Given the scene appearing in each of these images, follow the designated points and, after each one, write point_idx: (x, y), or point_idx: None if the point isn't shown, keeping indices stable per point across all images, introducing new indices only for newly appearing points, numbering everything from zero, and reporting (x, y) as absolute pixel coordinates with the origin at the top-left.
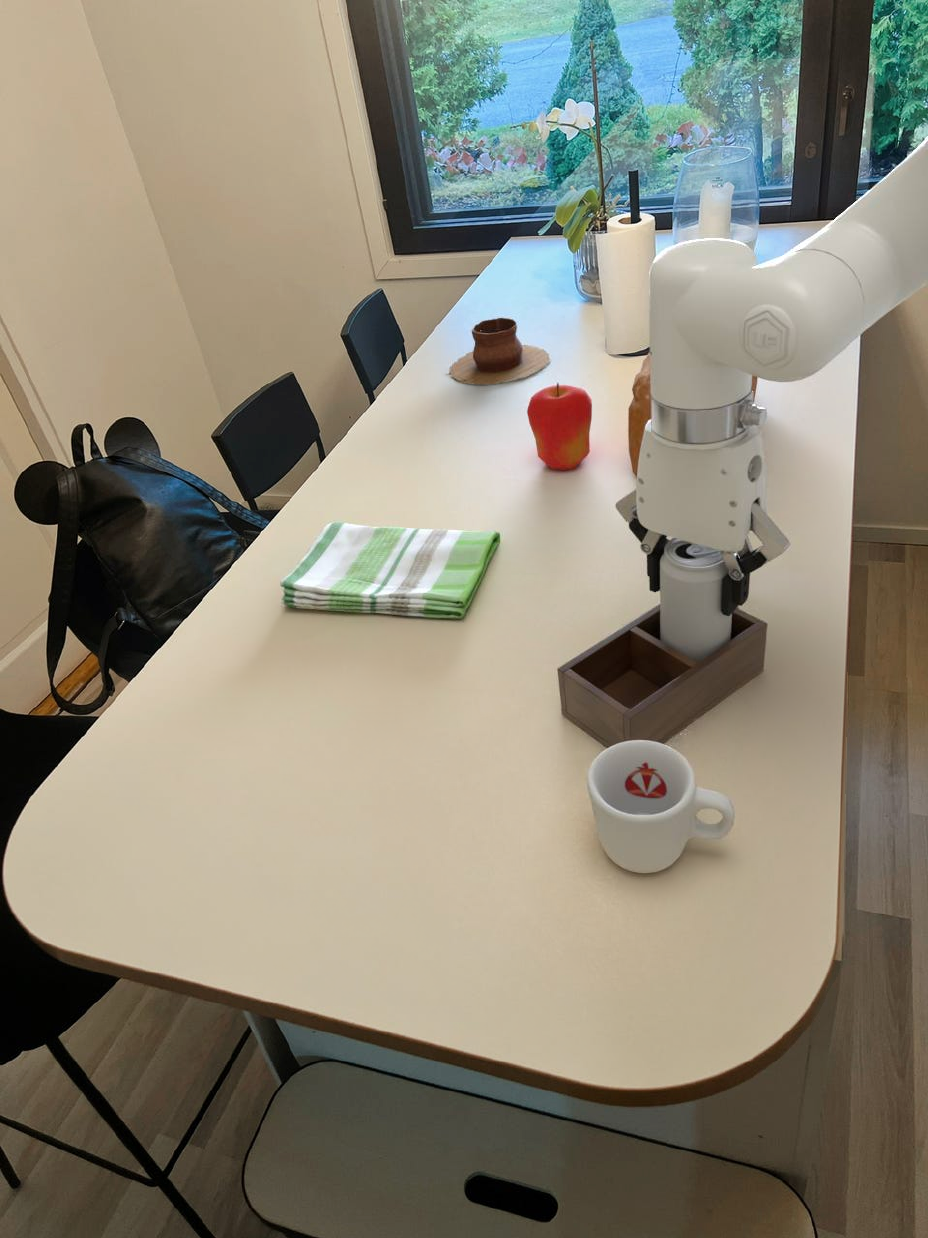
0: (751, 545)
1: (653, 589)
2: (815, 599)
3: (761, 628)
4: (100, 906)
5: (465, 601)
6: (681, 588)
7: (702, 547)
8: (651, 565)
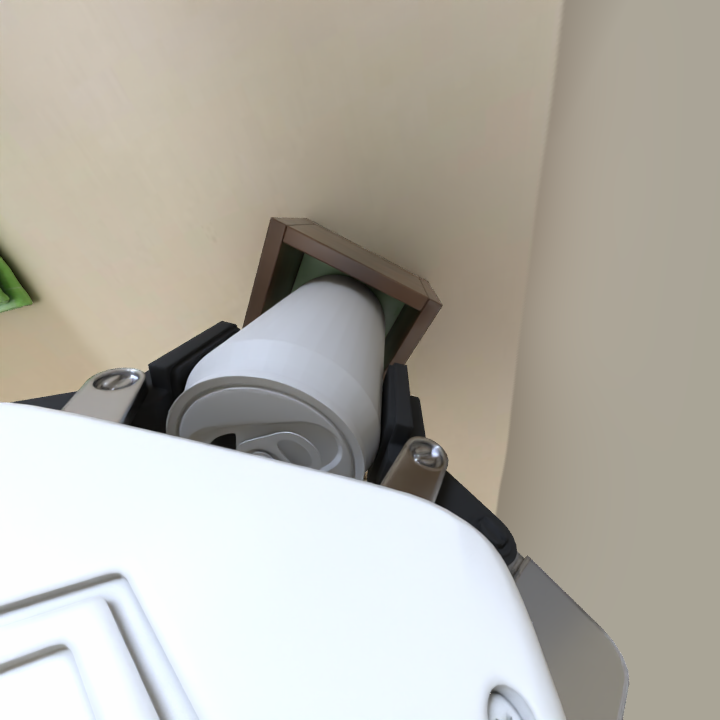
0: (435, 498)
1: None
2: (511, 4)
3: (433, 319)
4: None
5: (2, 296)
6: None
7: (274, 453)
8: None
